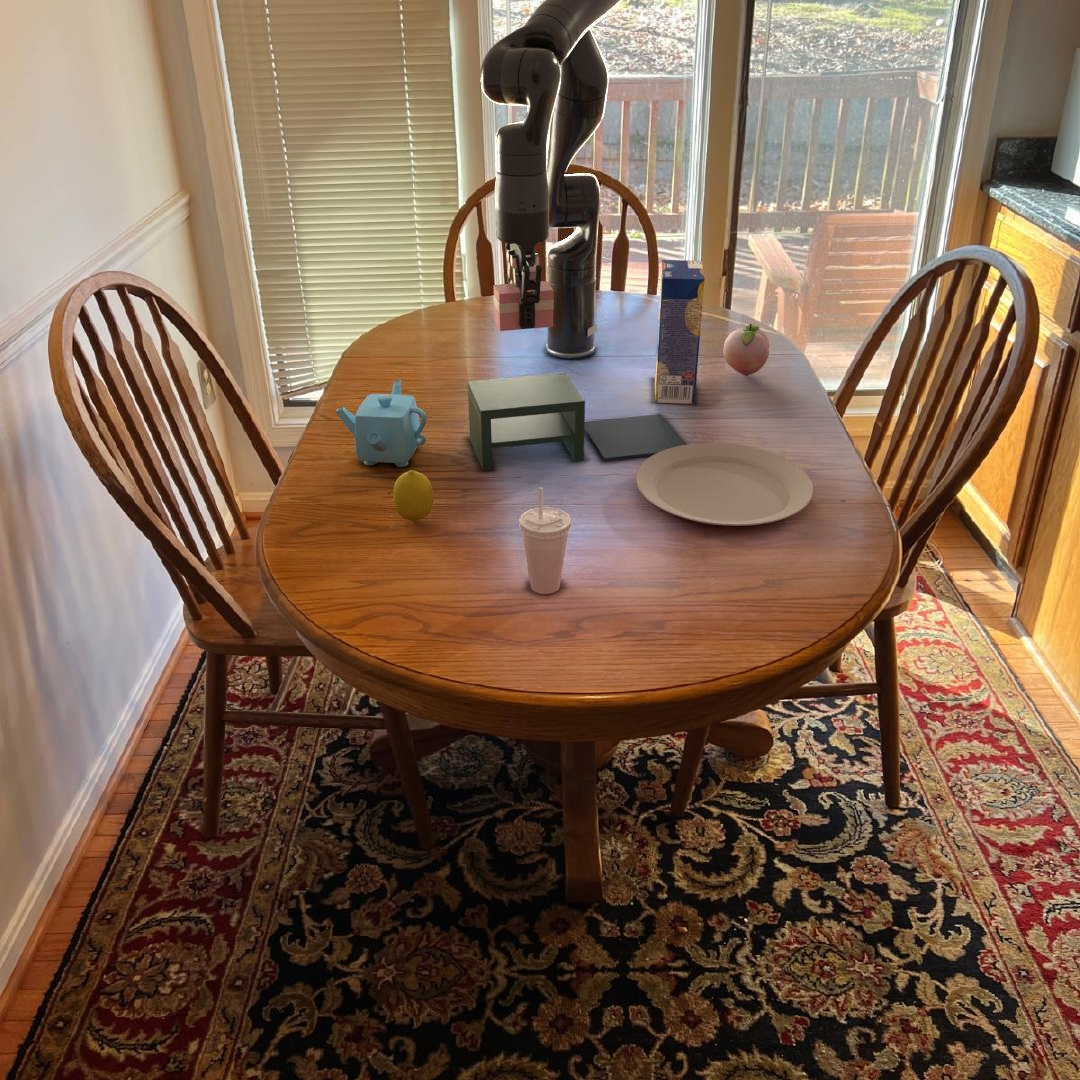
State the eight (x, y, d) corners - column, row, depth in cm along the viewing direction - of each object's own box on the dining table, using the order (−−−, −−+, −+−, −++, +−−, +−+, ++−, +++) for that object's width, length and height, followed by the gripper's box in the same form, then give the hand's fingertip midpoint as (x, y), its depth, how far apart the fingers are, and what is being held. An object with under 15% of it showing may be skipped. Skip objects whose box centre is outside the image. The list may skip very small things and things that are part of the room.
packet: (494, 321, 152) (493, 284, 149) (546, 317, 153) (546, 280, 150) (499, 331, 148) (498, 293, 145) (553, 327, 149) (553, 289, 147)
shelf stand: (469, 438, 165) (467, 381, 160) (565, 428, 168) (565, 372, 163) (483, 471, 155) (480, 411, 150) (583, 460, 158) (585, 401, 153)
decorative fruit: (722, 365, 192) (727, 313, 187) (766, 368, 191) (772, 316, 186) (719, 383, 184) (724, 330, 179) (765, 386, 183) (771, 333, 178)
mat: (580, 424, 169) (580, 421, 169) (660, 416, 172) (660, 413, 172) (604, 461, 157) (604, 458, 157) (689, 451, 160) (689, 449, 160)
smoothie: (518, 573, 130) (516, 476, 123) (567, 570, 130) (569, 474, 123) (521, 601, 125) (520, 501, 117) (573, 598, 125) (575, 499, 118)
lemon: (441, 515, 143) (438, 464, 139) (424, 534, 139) (421, 482, 134) (405, 509, 145) (401, 459, 140) (388, 528, 140) (383, 476, 136)
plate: (840, 528, 139) (842, 515, 138) (661, 544, 136) (661, 531, 135) (774, 448, 161) (775, 437, 160) (617, 461, 157) (618, 449, 156)
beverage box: (692, 380, 186) (701, 260, 174) (694, 404, 176) (704, 279, 165) (654, 378, 186) (661, 259, 175) (655, 402, 177) (662, 278, 166)
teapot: (417, 484, 151) (412, 422, 146) (325, 479, 153) (318, 418, 147) (440, 433, 167) (436, 375, 161) (357, 429, 168) (351, 372, 163)
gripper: (560, 215, 136) (559, 336, 145) (537, 192, 148) (537, 305, 157) (505, 218, 135) (508, 340, 144) (486, 194, 147) (490, 309, 156)
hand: (523, 321), depth 150 cm, fingers closed on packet, 4 cm apart
